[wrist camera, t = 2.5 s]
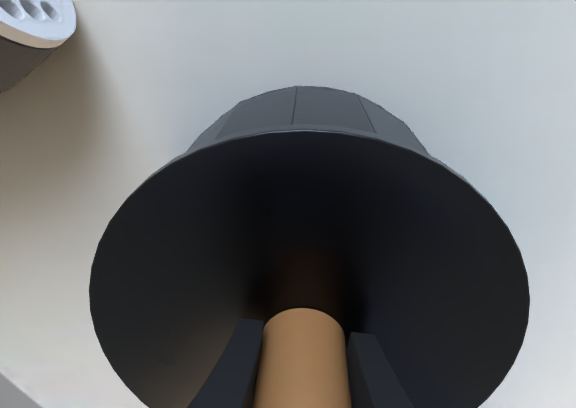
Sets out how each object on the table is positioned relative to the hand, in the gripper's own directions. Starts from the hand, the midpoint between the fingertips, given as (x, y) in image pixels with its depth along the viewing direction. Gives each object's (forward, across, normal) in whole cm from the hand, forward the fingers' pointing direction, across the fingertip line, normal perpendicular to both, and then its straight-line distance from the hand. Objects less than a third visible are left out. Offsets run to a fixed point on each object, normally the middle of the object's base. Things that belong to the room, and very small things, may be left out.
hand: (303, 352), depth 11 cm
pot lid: (+1, 0, 0) cm, 1 cm away
